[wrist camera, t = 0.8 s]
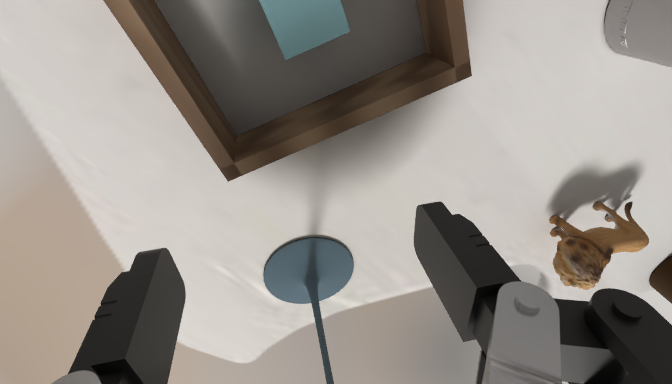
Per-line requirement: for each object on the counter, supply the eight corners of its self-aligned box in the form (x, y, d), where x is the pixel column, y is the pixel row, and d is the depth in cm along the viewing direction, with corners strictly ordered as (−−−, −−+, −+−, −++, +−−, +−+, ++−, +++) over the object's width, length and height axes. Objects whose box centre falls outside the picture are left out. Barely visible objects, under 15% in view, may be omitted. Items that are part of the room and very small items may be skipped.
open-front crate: (394, -221, 20) (430, -267, 16) (441, 60, 30) (471, 75, 26) (85, -75, 21) (45, -84, 17) (231, 152, 31) (228, 181, 27)
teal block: (307, -56, 24) (321, -61, 19) (332, 18, 27) (350, 31, 22) (248, -29, 24) (247, -27, 19) (279, 42, 27) (285, 60, 22)
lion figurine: (524, 252, 48) (573, 304, 40) (524, 225, 45) (578, 277, 37) (624, 213, 47) (692, 259, 40) (631, 183, 44) (706, 227, 37)
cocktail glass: (387, 298, 47) (490, 554, 27) (257, 334, 46) (262, 632, 25) (373, 192, 37) (525, 480, 16) (205, 236, 35) (143, 607, 15)
